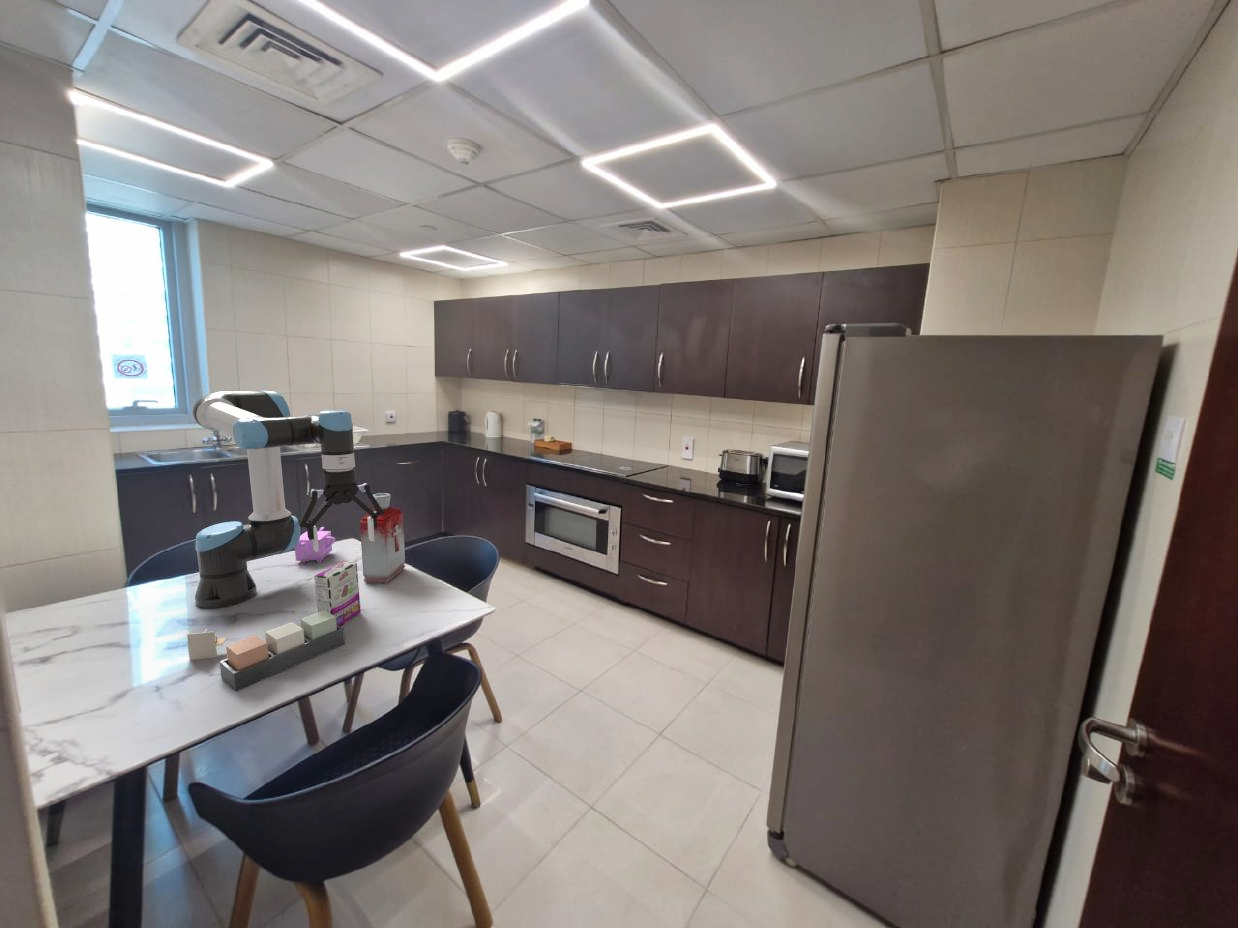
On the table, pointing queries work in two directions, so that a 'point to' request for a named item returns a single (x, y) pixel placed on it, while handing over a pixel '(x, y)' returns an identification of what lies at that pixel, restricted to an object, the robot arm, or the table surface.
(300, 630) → the ivory key
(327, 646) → the grey compartment tray
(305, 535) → the teapot
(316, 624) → the sage key
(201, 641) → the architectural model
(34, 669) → the table surface
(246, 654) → the terracotta key
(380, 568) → the bottle
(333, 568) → the candy bar box
